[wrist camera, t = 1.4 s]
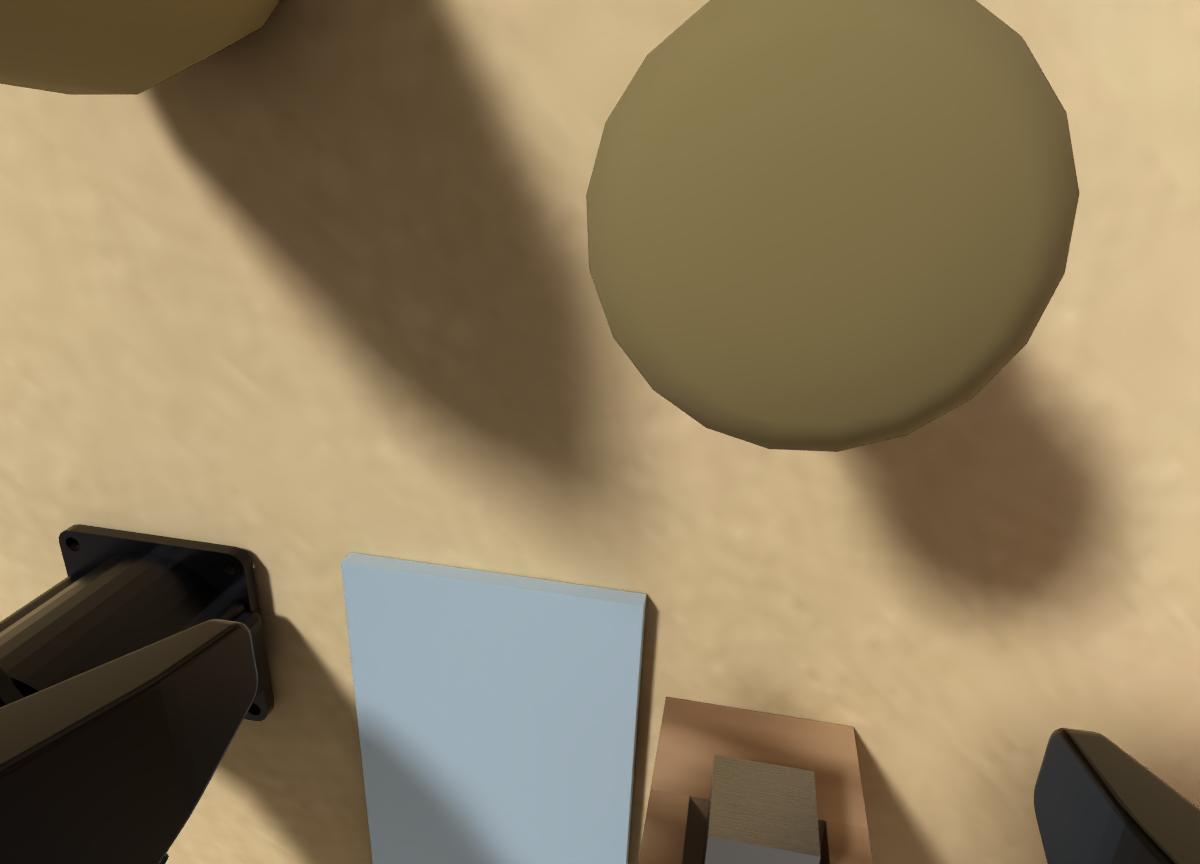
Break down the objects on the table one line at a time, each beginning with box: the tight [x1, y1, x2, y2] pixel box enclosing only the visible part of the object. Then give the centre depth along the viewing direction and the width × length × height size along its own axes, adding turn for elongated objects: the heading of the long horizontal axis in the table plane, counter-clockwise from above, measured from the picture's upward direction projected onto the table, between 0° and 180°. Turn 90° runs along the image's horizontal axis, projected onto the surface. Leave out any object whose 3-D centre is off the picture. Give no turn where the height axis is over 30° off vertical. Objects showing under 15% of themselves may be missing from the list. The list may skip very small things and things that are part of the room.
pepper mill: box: [586, 0, 1079, 452], centre depth 12 cm, size 6×6×11 cm
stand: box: [638, 697, 873, 864], centre depth 21 cm, size 5×4×6 cm
